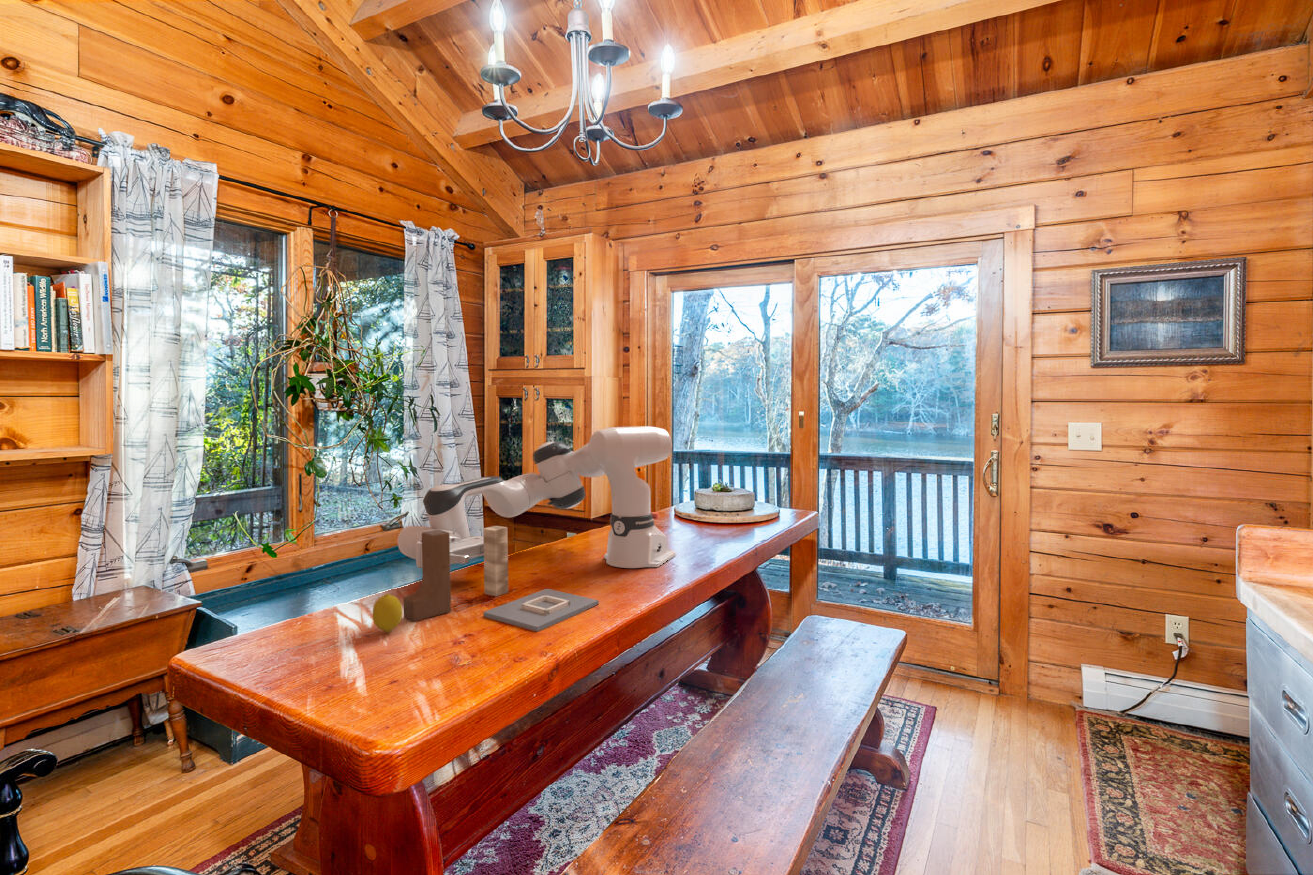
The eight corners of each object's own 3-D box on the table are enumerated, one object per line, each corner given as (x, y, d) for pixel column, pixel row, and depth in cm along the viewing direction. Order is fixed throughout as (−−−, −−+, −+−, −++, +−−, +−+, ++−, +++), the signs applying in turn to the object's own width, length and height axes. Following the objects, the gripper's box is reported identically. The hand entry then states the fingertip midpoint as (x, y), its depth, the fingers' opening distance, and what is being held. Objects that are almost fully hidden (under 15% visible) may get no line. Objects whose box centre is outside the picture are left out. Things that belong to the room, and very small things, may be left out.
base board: (546, 592, 155) (546, 584, 155) (598, 604, 147) (598, 596, 147) (483, 616, 139) (483, 607, 139) (537, 631, 130) (537, 622, 130)
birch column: (496, 589, 158) (495, 525, 157) (508, 592, 156) (507, 527, 155) (484, 593, 155) (483, 528, 153) (496, 596, 152) (494, 530, 151)
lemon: (373, 629, 131) (372, 591, 130) (402, 625, 133) (401, 588, 133) (373, 639, 126) (371, 599, 125) (403, 635, 128) (402, 596, 128)
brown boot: (412, 622, 135) (410, 538, 134) (402, 617, 138) (400, 535, 137) (451, 612, 142) (450, 532, 140) (441, 607, 145) (439, 529, 143)
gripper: (476, 551, 173) (512, 559, 166) (411, 569, 156) (448, 578, 148) (475, 528, 173) (512, 535, 165) (410, 543, 155) (448, 551, 148)
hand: (481, 555), depth 157 cm, fingers open, 8 cm apart
